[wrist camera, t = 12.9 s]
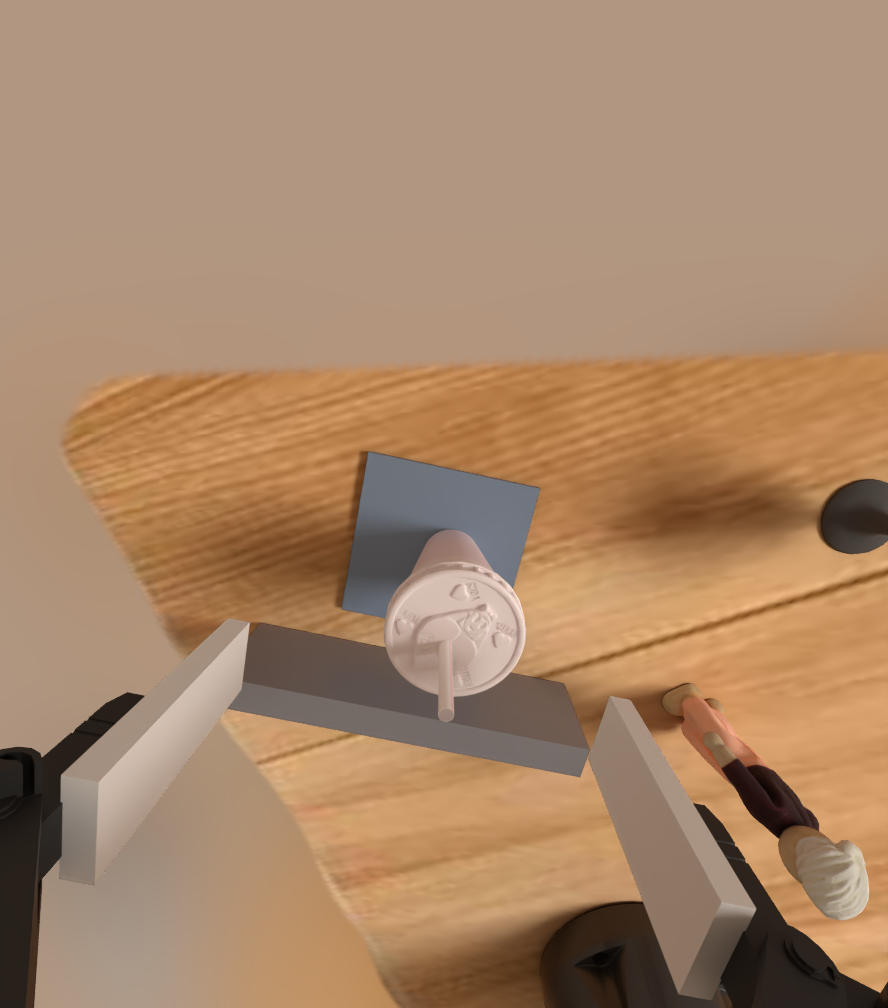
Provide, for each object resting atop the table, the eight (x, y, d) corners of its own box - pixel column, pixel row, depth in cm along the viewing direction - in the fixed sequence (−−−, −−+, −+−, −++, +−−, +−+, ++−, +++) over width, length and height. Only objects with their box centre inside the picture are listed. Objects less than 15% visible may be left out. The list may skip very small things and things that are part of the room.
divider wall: (556, 706, 31) (580, 777, 26) (257, 647, 31) (211, 705, 25) (564, 683, 31) (590, 749, 25) (260, 622, 30) (214, 676, 24)
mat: (497, 637, 30) (498, 641, 30) (343, 606, 30) (341, 609, 29) (538, 487, 28) (540, 488, 27) (369, 451, 27) (368, 452, 27)
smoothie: (381, 549, 28) (326, 694, 15) (458, 489, 27) (474, 584, 14) (443, 618, 29) (445, 810, 16) (519, 562, 28) (589, 717, 15)
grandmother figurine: (637, 709, 31) (757, 910, 19) (667, 667, 30) (813, 850, 18) (726, 750, 32) (896, 970, 20) (757, 711, 31) (956, 915, 19)
